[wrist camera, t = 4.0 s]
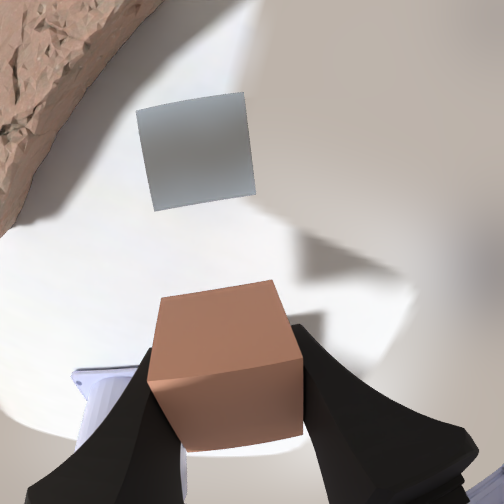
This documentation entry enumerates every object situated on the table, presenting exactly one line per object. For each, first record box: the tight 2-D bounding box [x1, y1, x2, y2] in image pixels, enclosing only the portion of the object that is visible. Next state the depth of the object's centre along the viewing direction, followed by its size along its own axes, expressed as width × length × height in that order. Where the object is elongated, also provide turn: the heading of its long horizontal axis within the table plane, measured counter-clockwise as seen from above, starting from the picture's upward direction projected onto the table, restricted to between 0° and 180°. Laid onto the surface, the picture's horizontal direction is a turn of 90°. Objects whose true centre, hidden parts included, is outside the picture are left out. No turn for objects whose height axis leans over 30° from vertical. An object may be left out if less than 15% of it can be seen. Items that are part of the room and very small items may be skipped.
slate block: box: [136, 92, 256, 211], centre depth 13 cm, size 4×4×4 cm
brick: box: [0, 0, 163, 238], centre depth 9 cm, size 17×8×5 cm, turn 138°
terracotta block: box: [147, 280, 303, 452], centre depth 10 cm, size 4×4×4 cm
